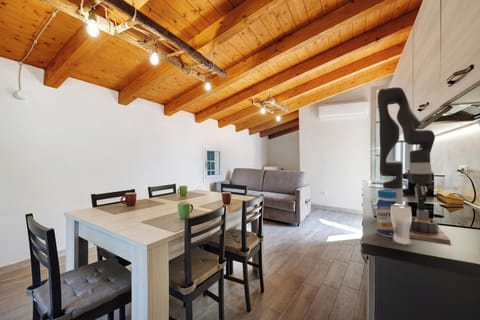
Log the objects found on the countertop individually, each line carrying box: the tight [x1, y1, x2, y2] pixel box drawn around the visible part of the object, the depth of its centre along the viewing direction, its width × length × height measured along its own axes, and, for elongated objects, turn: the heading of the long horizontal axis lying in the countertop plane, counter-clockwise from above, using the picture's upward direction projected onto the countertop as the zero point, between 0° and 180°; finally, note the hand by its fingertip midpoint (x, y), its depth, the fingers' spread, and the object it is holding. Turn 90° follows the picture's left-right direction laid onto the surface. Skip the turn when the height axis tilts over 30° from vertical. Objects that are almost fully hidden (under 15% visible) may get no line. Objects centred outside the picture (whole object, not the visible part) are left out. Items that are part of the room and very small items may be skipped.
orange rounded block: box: [415, 208, 430, 223], centre depth 91 cm, size 5×5×9 cm
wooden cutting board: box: [410, 226, 451, 245], centre depth 92 cm, size 20×14×2 cm
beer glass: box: [390, 204, 413, 246], centre depth 82 cm, size 7×7×15 cm
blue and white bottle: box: [375, 189, 398, 238], centre depth 91 cm, size 8×8×20 cm
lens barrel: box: [410, 216, 439, 234], centre depth 92 cm, size 10×10×4 cm
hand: (421, 210), depth 91 cm, fingers closed
